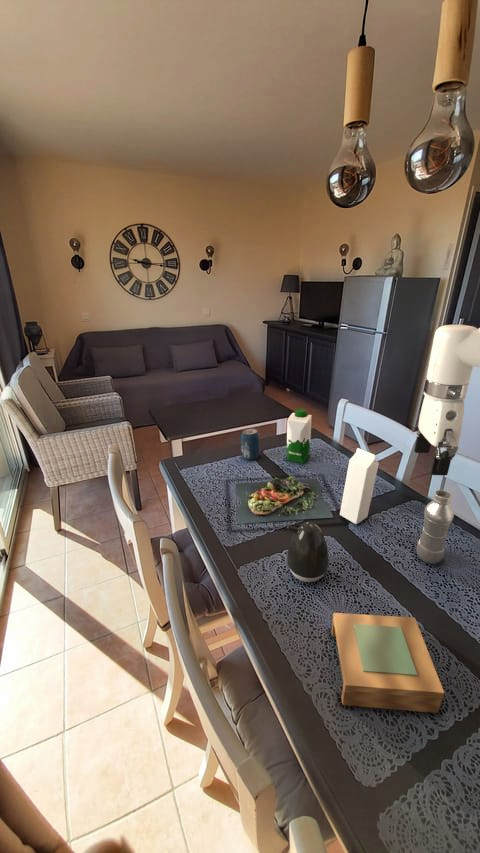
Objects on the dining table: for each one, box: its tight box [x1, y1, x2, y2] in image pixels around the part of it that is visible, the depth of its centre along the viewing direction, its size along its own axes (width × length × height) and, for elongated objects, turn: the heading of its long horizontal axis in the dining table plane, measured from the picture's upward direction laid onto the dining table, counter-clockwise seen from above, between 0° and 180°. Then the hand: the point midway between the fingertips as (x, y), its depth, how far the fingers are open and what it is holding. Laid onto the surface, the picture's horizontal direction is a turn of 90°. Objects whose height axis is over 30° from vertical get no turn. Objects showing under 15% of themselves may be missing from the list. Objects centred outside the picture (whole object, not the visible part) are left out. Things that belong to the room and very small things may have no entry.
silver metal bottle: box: [415, 489, 455, 565], centre depth 90 cm, size 6×7×20 cm
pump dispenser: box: [286, 521, 330, 583], centre depth 88 cm, size 10×10×15 cm
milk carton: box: [286, 408, 312, 464], centre depth 140 cm, size 9×9×20 cm
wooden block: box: [331, 612, 445, 714], centre depth 68 cm, size 16×14×6 cm
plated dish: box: [234, 476, 334, 525], centre depth 118 cm, size 35×28×7 cm
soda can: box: [240, 427, 260, 462], centre depth 144 cm, size 7×7×12 cm
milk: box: [339, 447, 380, 525], centre depth 106 cm, size 6×6×22 cm
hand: (429, 462), depth 80 cm, fingers open, 9 cm apart
